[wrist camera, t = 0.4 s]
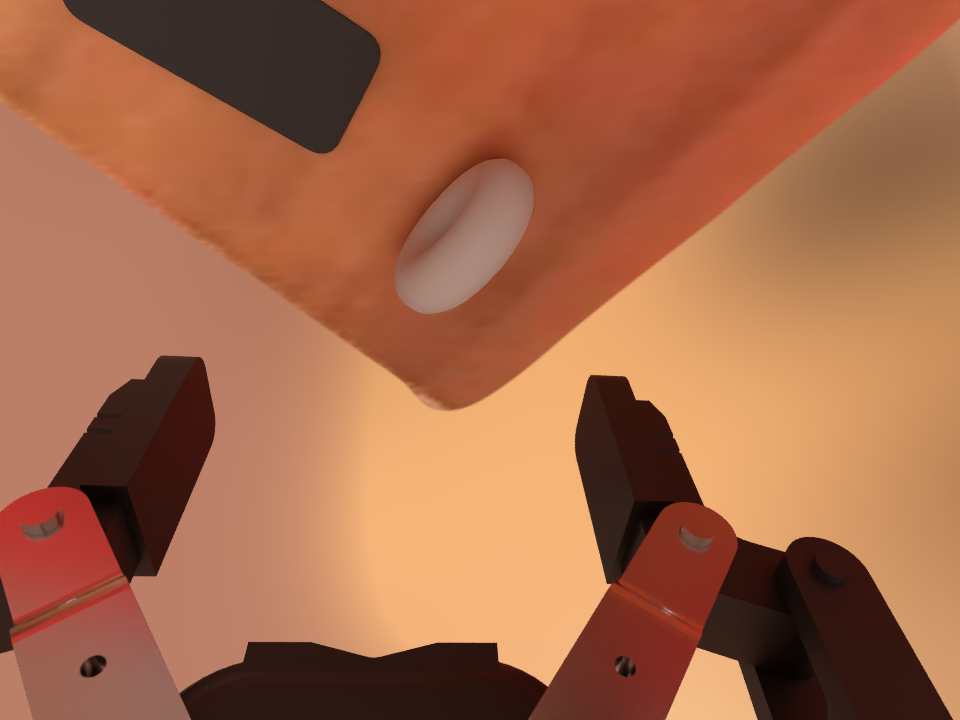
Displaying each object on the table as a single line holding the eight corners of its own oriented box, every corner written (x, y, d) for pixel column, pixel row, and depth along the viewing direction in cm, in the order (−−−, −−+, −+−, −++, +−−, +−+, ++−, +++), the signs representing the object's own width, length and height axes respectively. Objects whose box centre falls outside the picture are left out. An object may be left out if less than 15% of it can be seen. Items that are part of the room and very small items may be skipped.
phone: (328, 162, 38) (54, 8, 32) (330, 158, 38) (62, 6, 33) (388, 45, 34) (93, -149, 29) (389, 42, 35) (101, -148, 30)
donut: (495, 123, 37) (511, 183, 29) (536, 163, 39) (562, 231, 31) (386, 240, 41) (373, 322, 33) (427, 272, 43) (424, 358, 34)
